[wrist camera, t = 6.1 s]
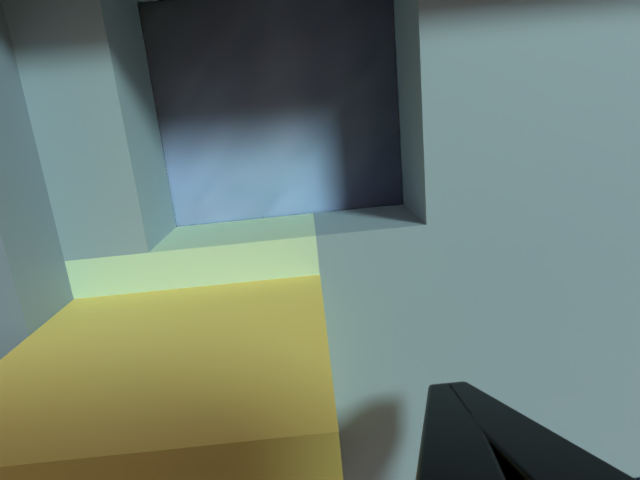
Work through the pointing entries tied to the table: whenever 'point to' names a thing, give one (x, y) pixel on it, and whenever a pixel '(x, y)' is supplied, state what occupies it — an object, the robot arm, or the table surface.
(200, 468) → the block
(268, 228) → the tray
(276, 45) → the table surface
